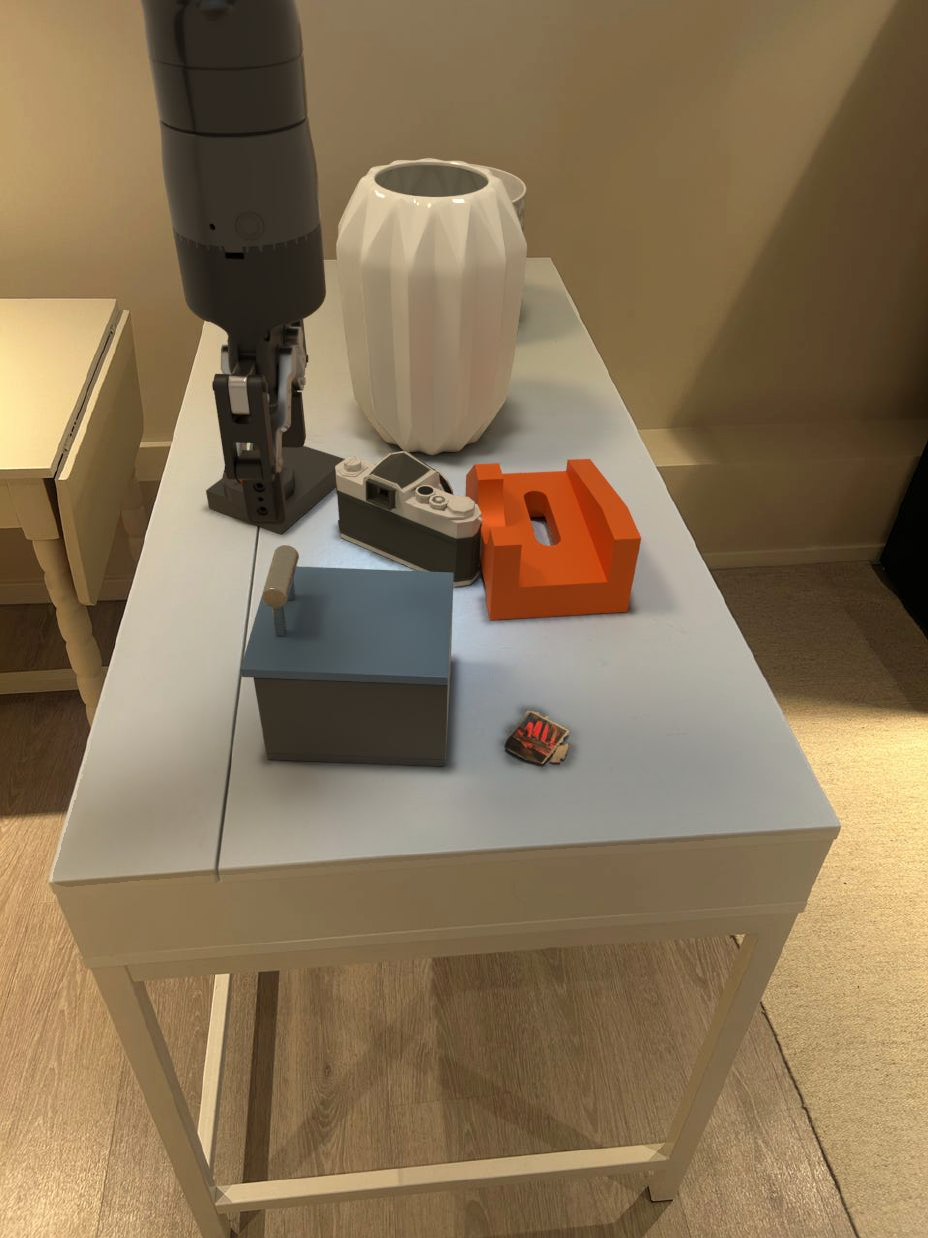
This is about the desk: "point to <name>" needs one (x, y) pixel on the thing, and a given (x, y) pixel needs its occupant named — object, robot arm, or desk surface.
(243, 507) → the control block
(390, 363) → the vase
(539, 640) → the desk surface
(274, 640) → the lid
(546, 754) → the matchbox
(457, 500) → the camera
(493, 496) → the orange slotted stand
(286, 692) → the open box
